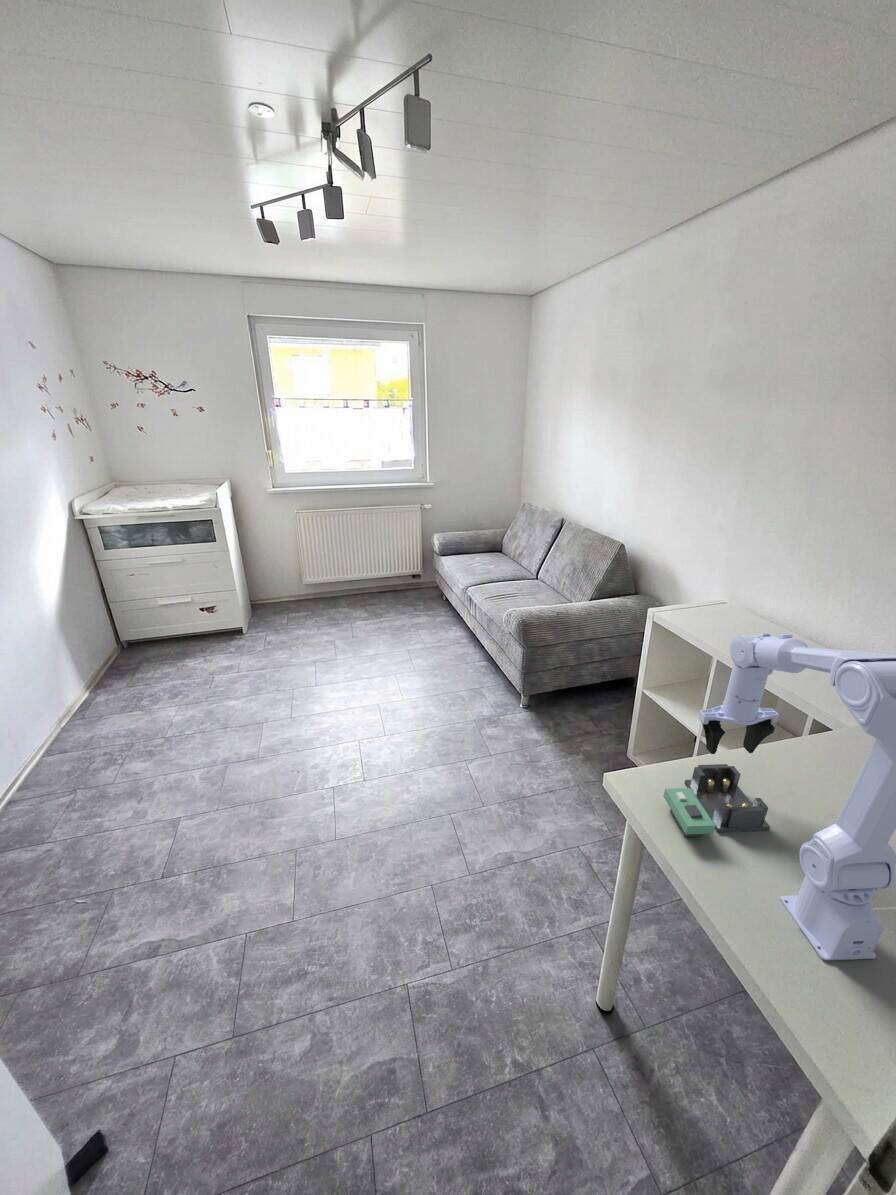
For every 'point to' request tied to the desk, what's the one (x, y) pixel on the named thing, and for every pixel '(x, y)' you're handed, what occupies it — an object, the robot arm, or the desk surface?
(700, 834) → the dark grey rectangular block
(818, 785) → the desk surface
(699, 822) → the board
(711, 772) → the chassis
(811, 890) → the robot arm
